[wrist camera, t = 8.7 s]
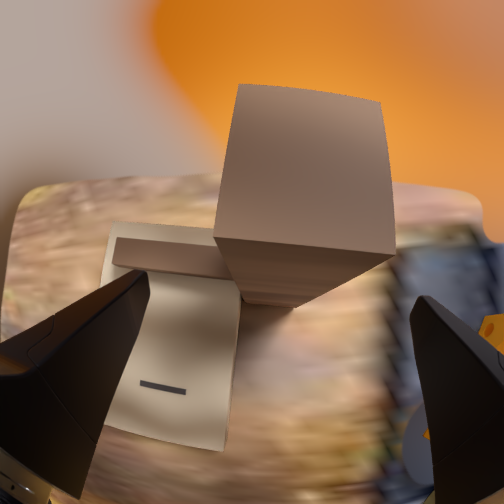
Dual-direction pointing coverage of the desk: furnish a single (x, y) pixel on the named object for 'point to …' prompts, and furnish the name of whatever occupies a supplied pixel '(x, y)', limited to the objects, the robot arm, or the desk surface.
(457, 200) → the desk surface
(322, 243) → the tan upright block
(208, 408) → the pine board
